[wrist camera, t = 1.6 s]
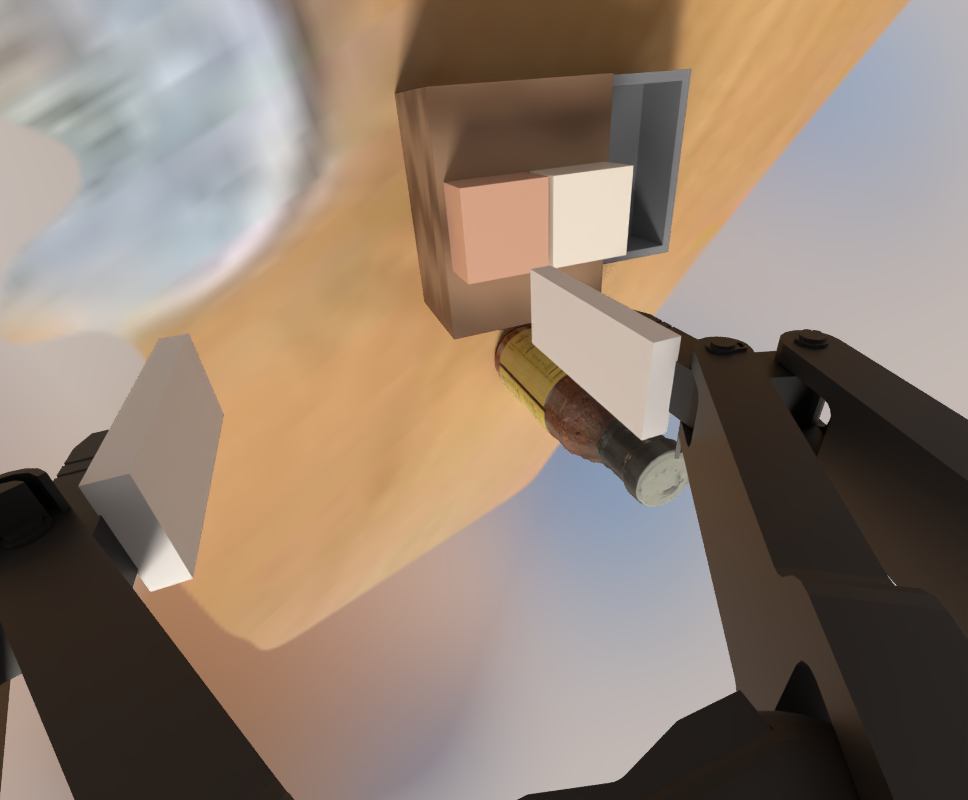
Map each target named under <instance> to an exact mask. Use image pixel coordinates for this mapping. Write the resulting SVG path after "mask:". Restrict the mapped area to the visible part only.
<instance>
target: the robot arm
mask: <svg viewBox="0 0 968 800" xmlns="http://www.w3.org/2000/svg"><path fill="white" fill-rule="evenodd" d="M530 279H531V320H532V344H534V345H535V346H536V347H537V348H538V349H539V350H540V351H541V352H543V353H544V354H545V355H546V356H547V357H548V358H549V359H550V360H552V361H553V362H554V363H555V364H556V365H557V366H558V367H559V368H561V369H562V370H563V371H564V372H565V373H566V374H567V375H568V376H570V377H571V378H572V379H573V380H574V381H575V382H576V383H577V384H579V385H580V386H581V387H582V388H583V389H584V390H585V391H586V392H588V393H589V394H590V395H591V396H592V397H593V398H594V399H595V400H597V401H598V402H599V403H600V404H601V405H602V406H603V407H604V408H606V409H607V410H608V411H609V412H610V413H611V414H612V415H613V416H615V417H616V418H617V419H618V420H619V421H620V422H621V423H622V424H624V425H625V426H626V427H627V428H628V429H629V430H630V431H631V432H633V433H634V434H635V435H636V436H637V437H638V438H639V439H640V440H645V439H648V438H651V437H655V436H658V435H661V434H664V433H666V432H667V427H668V420H669V414H670V413H671V414H673V415H674V416H675V417H677V418H678V419H679V420H681V421H680V427H679V433H678V439H677V445H676V450H675V457H674V459H679V456H680V453H681V452H682V453H683V457H684V461H685V466H686V470H687V474H688V479H689V483H690V487H691V491H692V496H693V500H694V504H695V508H696V513H697V517H698V522H699V526H700V530H701V534H702V539H703V543H704V547H705V552H706V556H707V560H708V565H709V569H710V573H711V578H712V582H713V586H714V590H715V595H716V599H717V603H718V608H719V612H720V616H721V620H722V625H723V629H724V633H725V638H726V641H727V646H728V651H729V655H730V659H731V663H732V668H733V672H734V677H735V682H736V690H737V692H735V693H733V694H731V695H729V696H727V697H725V698H723V699H721V700H719V701H716V702H715V703H712V704H710V705H708V706H707V707H705V708H702V709H700V710H698V711H696V712H694V713H692V714H690V715H688V716H686V717H684V718H682V719H680V720H678V721H677V722H676V723H675V724H674V725H673V726H672V727H671V728H670V729H669V730H668V731H667V732H666V733H665V734H664V735H663V736H662V737H661V738H660V739H659V740H658V741H657V743H656V744H655V745H654V746H653V747H652V748H651V749H650V750H649V751H648V752H647V753H646V754H645V755H644V756H643V757H642V758H641V759H640V760H639V761H638V762H637V763H636V764H635V765H634V767H633V768H632V769H631V770H630V771H629V772H628V773H627V774H626V775H625V776H624V777H623V778H621V779H619V780H618V781H615V782H611V783H605V784H599V785H591V786H584V787H577V788H570V789H564V790H557V791H549V792H542V793H536V794H528V795H526V796H524V797H522V798H520V799H518V800H968V420H967V419H966V418H964V417H963V416H961V415H960V414H958V413H956V412H955V411H953V410H951V409H950V408H948V407H947V406H945V405H943V404H942V403H940V402H939V401H937V400H935V399H934V398H932V397H931V396H929V395H927V394H926V393H924V392H923V391H921V390H919V389H918V388H916V387H915V386H913V385H911V384H910V383H908V382H906V381H905V380H903V379H902V378H900V377H899V376H897V375H895V374H894V373H892V372H891V371H889V370H887V369H886V368H884V367H883V366H881V365H879V364H878V363H876V362H875V361H873V360H871V359H870V358H868V357H866V356H865V355H863V354H862V353H860V352H858V351H857V350H855V349H854V348H852V347H850V346H849V345H847V344H846V343H844V342H842V341H841V340H839V339H837V338H835V337H833V336H831V335H828V334H824V333H821V332H820V331H816V330H813V331H811V330H808V329H804V330H794V331H789V332H785V333H784V334H782V335H781V336H780V340H779V343H778V347H777V351H769V352H754V351H753V349H752V348H751V347H750V346H748V344H746V343H744V342H742V341H739V340H736V339H732V338H726V337H706V338H702V339H696V338H694V337H692V336H690V335H688V334H686V333H684V332H683V331H681V330H679V329H677V328H675V327H671V325H669V324H667V323H666V322H662V321H661V320H660V319H658V318H656V317H654V316H652V315H650V314H647V313H643V312H640V311H636V310H632V309H631V308H629V307H627V306H625V305H623V304H621V303H619V302H618V301H616V300H614V299H612V298H610V297H608V296H606V295H605V294H603V293H601V292H599V291H597V290H595V289H594V288H592V287H590V286H588V285H586V284H584V283H582V282H581V281H579V280H577V279H575V278H573V277H571V276H570V275H568V274H566V273H564V272H562V271H560V270H558V269H557V268H555V267H553V266H551V265H549V266H544V267H539V268H534V269H530ZM825 401H826V402H827V403H828V405H829V408H830V412H831V418H830V420H829V422H828V424H827V425H826V424H824V423H823V422H822V421H821V420H820V419H819V417H820V415H821V411H822V409H823V406H824V403H825ZM223 416H224V414H223V412H222V409H221V407H220V405H219V402H218V400H217V398H216V395H215V393H214V391H213V388H212V386H211V384H210V381H209V379H208V377H207V374H206V372H205V370H204V367H203V365H202V363H201V360H200V358H199V356H198V353H197V351H196V349H195V346H194V344H193V342H192V339H191V337H190V335H189V333H188V334H183V335H178V336H172V337H167V338H162V339H159V340H158V341H157V343H156V345H155V347H154V349H153V351H152V352H151V354H150V356H149V358H148V360H147V362H146V363H145V365H144V367H143V369H142V371H141V373H140V374H139V376H138V378H137V380H136V382H135V384H134V386H133V387H132V389H131V391H130V393H129V394H128V396H127V398H126V400H125V402H124V404H123V405H122V407H121V409H120V411H119V413H118V414H117V416H116V418H115V420H114V422H113V424H112V425H111V427H110V429H109V430H105V431H101V432H97V433H92V434H91V435H90V436H88V437H87V438H86V439H85V440H84V441H82V442H81V443H80V444H79V445H77V446H76V447H75V448H74V449H73V450H72V452H71V454H70V455H69V457H68V459H67V460H66V461H65V463H64V464H65V466H62V468H61V470H60V471H59V473H58V474H57V478H56V479H54V481H52V480H51V479H50V477H49V475H48V474H47V473H46V472H45V471H43V470H41V469H38V468H35V469H34V468H32V469H31V468H29V469H28V468H26V469H20V470H16V471H11V472H7V473H4V474H1V475H0V790H1V779H2V768H3V756H4V745H5V734H6V723H7V711H8V701H9V690H10V680H11V679H12V678H14V677H16V676H18V675H20V674H23V677H24V679H25V681H26V684H27V686H28V689H29V691H30V694H31V696H32V698H33V701H34V703H35V705H36V708H37V710H38V713H39V715H40V718H41V720H42V722H43V725H44V727H45V730H46V732H47V734H48V737H49V739H50V742H51V744H52V746H53V748H54V751H55V754H56V756H57V758H58V761H59V763H60V766H61V768H62V771H63V773H64V775H65V778H66V780H67V783H68V785H69V787H70V790H71V792H72V795H73V797H74V799H75V800H294V799H293V798H292V796H291V795H290V794H289V793H288V792H287V791H286V790H285V789H284V787H283V786H282V785H281V783H280V782H279V781H278V780H277V778H276V777H275V776H274V774H273V773H272V772H271V770H270V769H269V768H268V766H267V765H266V764H265V763H264V761H263V760H262V759H261V757H260V756H259V755H258V753H257V752H256V751H255V749H254V748H253V747H252V745H251V744H250V743H249V741H248V740H247V739H246V737H245V736H244V735H243V733H242V732H241V731H240V729H239V728H238V727H237V726H236V724H235V723H234V721H233V720H232V719H231V718H230V716H229V715H228V714H227V712H226V711H225V710H224V709H223V707H222V706H221V704H220V703H219V702H218V701H217V699H216V698H215V696H214V695H213V694H212V693H211V691H210V690H209V689H208V687H207V686H206V685H205V683H204V682H203V681H202V679H201V678H200V677H199V675H198V674H197V673H196V671H195V670H194V669H193V667H192V666H191V665H190V663H189V662H188V661H187V659H186V658H185V657H184V655H183V654H182V653H181V652H180V650H179V649H178V648H177V646H176V645H175V644H174V642H173V641H172V640H171V638H170V637H169V636H168V634H167V633H166V632H165V630H164V629H163V628H162V626H161V625H160V624H159V622H157V620H156V619H155V617H154V616H153V615H152V613H151V612H150V611H149V609H148V608H147V607H146V605H145V604H144V603H143V601H142V600H141V599H140V597H138V595H137V593H136V592H135V591H134V589H133V584H134V581H135V578H136V575H137V573H138V574H139V576H140V577H141V579H142V580H143V581H144V583H145V585H146V586H147V587H148V589H149V590H150V592H151V591H154V590H158V589H161V588H164V587H167V586H171V585H174V584H177V583H180V582H184V581H187V580H190V579H193V575H194V570H195V565H196V559H197V554H198V549H199V543H200V538H201V533H202V527H203V522H204V517H205V511H206V506H207V501H208V496H209V490H210V485H211V480H212V474H213V469H214V464H215V458H216V453H217V448H218V443H219V437H220V432H221V427H222V421H223ZM887 575H888V576H889V577H890V578H891V580H892V581H893V582H894V583H895V584H896V585H897V586H895V585H894V584H893V583H892V581H891V580H890V579H889V577H888V576H887Z"/></svg>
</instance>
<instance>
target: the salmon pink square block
mask: <svg viewBox="0 0 968 800" xmlns="http://www.w3.org/2000/svg"><path fill="white" fill-rule="evenodd" d="M443 184H444V194H445V203H446V212H447V222H448V231H449V240H450V250H451V259H452V268H453V271H454V272H455V273H456V274H457V275H458V276H459V277H460V278H461V279H463V280H464V281H465V282H466V283H467V284H474V283H479V282H484V281H490V280H495V279H500V278H506V277H511V276H516V275H522V274H527V273H530V269H534V268H539V267H544V266H549V188H548V177H547V176H543V175H538V174H533V173H529V172H519V173H511V174H504V175H496V176H488V177H480V178H472V179H464V180H457V181H449V182H443Z"/></svg>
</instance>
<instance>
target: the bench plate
mask: <svg viewBox="0 0 968 800" xmlns="http://www.w3.org/2000/svg"><path fill="white" fill-rule="evenodd" d="M613 76H614V73H605V74H592V75H578V76H565V77H551V78H538V79H524V80H510V81H497V82H483V83H470V84H456V85H443V86H429V87H422V88H418V89H413V90H408V91H404V92H399V93H395V98H396V105H397V112H398V119H399V126H400V133H401V140H402V147H403V154H404V161H405V168H406V175H407V182H408V189H409V196H410V203H411V210H412V217H413V224H414V231H415V238H416V245H417V252H418V259H419V266H420V273H421V280H422V287H423V294H424V301H425V303H426V304H427V306H428V307H429V308H430V310H431V311H432V312H433V313H434V315H435V316H436V317H437V318H438V320H439V321H440V322H441V323H442V325H443V326H444V327H445V328H446V330H447V331H448V332H449V333H450V335H451V336H452V337H453V339H458V338H463V337H468V336H472V335H477V334H482V333H486V332H491V331H495V330H500V329H505V328H509V327H514V326H518V325H523V324H528V323H532V320H531V279H530V273H527V274H522V275H516V276H511V277H506V278H500V279H495V280H490V281H484V282H479V283H474V284H467V283H466V282H465V281H464V280H463V279H461V278H460V277H459V276H458V275H457V274H456V273H455V272H454V271H453V268H452V259H451V250H450V240H449V231H448V222H447V212H446V203H445V194H444V184H443V182H449V181H457V180H464V179H472V178H480V177H488V176H496V175H504V174H511V173H519V172H529V173H530V171H535V170H543V169H551V168H558V167H566V166H574V165H582V164H590V163H598V162H609V146H610V129H611V111H612V94H613ZM602 268H603V259H602V260H597V261H591V262H586V263H580V264H575V265H570V266H564V267H559V268H557V269H558V270H560V271H562V272H564V273H566V274H568V275H570V276H571V277H573V278H575V279H577V280H579V281H581V282H582V283H584V284H586V285H588V286H590V287H592V288H594V289H595V290H597V291H599V292H601V285H602Z"/></svg>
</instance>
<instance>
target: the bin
mask: <svg viewBox="0 0 968 800" xmlns="http://www.w3.org/2000/svg"><path fill="white" fill-rule="evenodd" d="M690 76H691V69H683V70H670V71H657V72H643V73H630V74H617V75H614V76H613V94H612V111H611V129H610V146H609V162H611V163H619V164H626V165H634V166H633V178H632V190H631V202H630V214H629V226H628V239H627V251H626V255H623V256H618V257H613V258H607V259H603V264H607V263H612V262H618V261H623V260H628V259H633V258H639V257H644V256H649V255H654V254H660V253H665V252H668V249H669V241H670V233H671V225H672V217H673V209H674V201H675V194H676V186H677V178H678V170H679V162H680V154H681V146H682V138H683V131H684V123H685V115H686V107H687V99H688V91H689V83H690Z"/></svg>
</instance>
